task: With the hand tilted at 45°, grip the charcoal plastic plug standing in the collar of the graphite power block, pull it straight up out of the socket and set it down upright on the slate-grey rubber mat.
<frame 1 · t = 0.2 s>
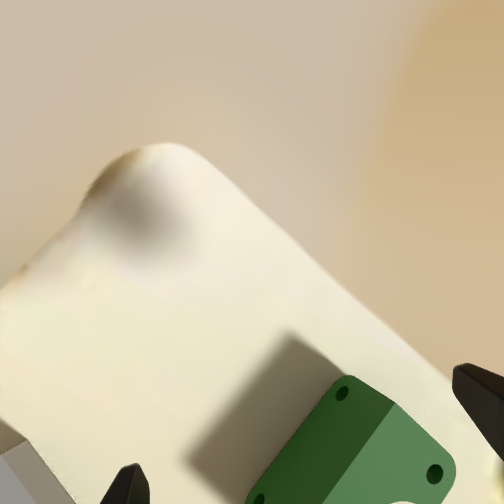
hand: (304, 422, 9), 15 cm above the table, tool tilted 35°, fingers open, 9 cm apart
clamp: (331, 468, 23), on the table
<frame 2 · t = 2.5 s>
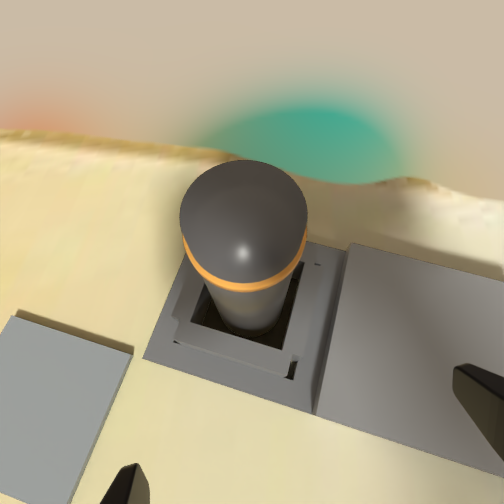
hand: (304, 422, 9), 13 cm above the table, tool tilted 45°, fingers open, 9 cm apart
socket block: (250, 305, 23), on the table
mat: (38, 404, 21), on the table
plug: (248, 274, 17), in the socket block
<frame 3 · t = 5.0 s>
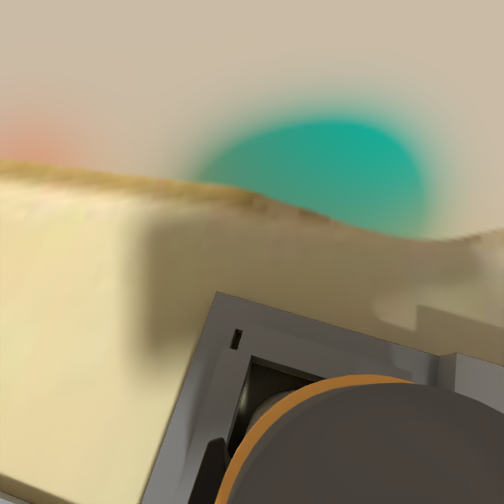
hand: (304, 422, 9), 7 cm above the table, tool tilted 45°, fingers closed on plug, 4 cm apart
socket block: (293, 443, 15), on the table
plug: (317, 476, 9), in the socket block, touching gripper
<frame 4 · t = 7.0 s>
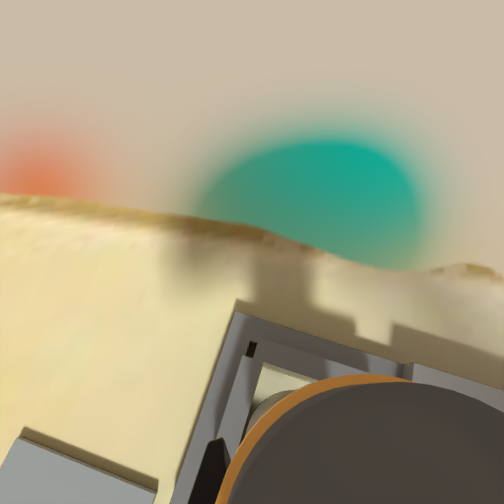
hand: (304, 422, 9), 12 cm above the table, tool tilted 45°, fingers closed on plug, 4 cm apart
socket block: (292, 427, 20), on the table
plug: (318, 475, 9), point 12 cm above the table, touching gripper
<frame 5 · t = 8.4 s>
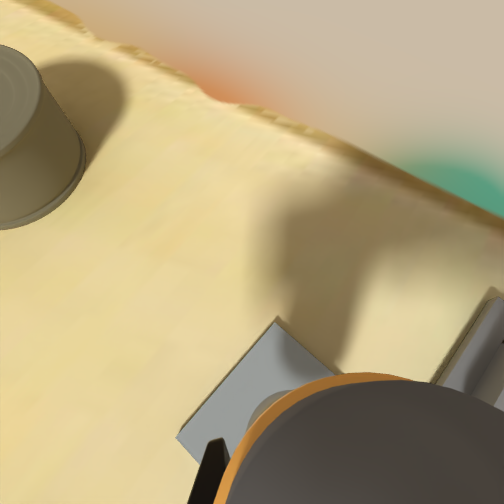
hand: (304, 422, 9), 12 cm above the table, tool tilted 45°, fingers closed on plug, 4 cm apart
can: (18, 170, 28), on the table
mat: (283, 429, 20), on the table
plug: (317, 474, 9), point 12 cm above the table, touching gripper
when the fingers open (9 cm above the table, at t = 9.4 s): plug drops 1 cm, resting on mat.
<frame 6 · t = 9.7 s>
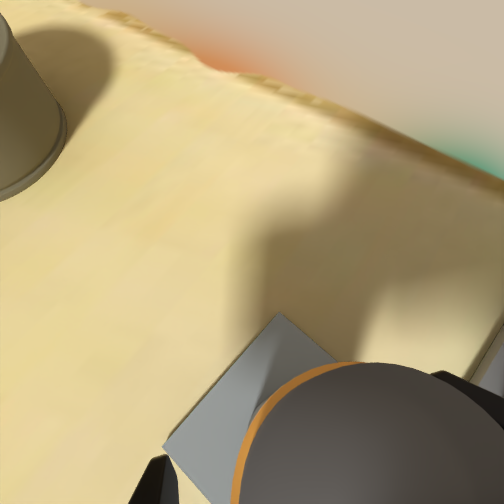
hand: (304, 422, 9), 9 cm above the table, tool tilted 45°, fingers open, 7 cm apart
mat: (289, 437, 17), on the table
plug: (314, 459, 10), on the mat
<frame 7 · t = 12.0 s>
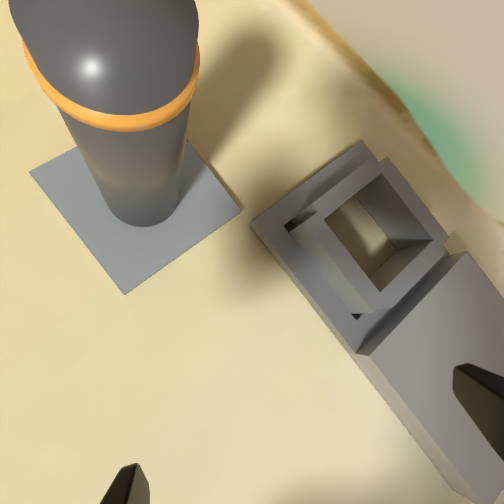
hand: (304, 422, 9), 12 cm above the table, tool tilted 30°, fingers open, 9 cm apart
socket block: (351, 242, 24), on the table
mat: (142, 195, 21), on the table
plug: (133, 139, 14), on the mat
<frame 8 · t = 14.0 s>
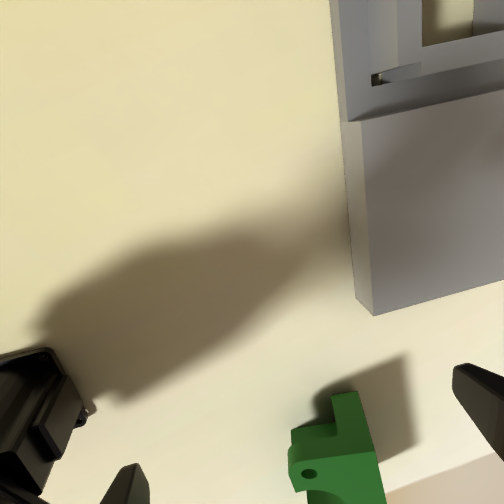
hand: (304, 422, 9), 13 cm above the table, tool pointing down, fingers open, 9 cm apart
clamp: (324, 438, 29), on the table
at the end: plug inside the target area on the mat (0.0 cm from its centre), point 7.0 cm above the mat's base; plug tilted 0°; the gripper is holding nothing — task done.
